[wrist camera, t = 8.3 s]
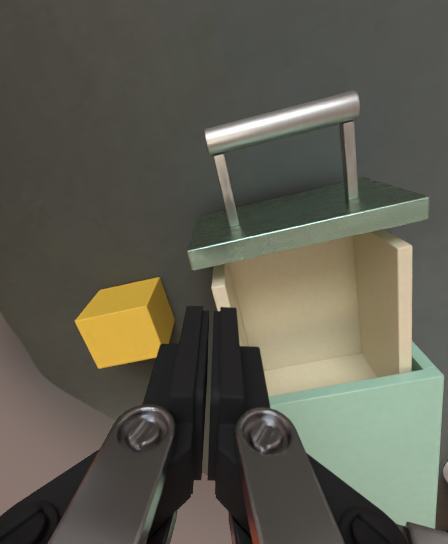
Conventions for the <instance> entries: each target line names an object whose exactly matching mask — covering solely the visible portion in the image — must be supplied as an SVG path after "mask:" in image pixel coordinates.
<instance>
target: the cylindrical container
mask: <svg viewBox="0 0 448 544" xmlns="http://www.w3.org/2000/svg"><path fill="white" fill-rule="evenodd" d="M443 476H444V478H445V480H446V481H447V483H448V461H447V463H446V464H445V466H444V468H443Z"/></svg>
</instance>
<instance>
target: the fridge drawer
mask: <svg viewBox="0 0 448 544" xmlns="http://www.w3.org/2000/svg"><path fill="white" fill-rule="evenodd" d="M359 112H360V100H359V96H358V93H357V92H356V91H354V90H353V91H349V92H345V93H342V94H338V95H334V96H330V97H326V98H322V99H319V100H315V101H311V102H307V103H303V104H299V105H296V106H292V107H288V108H284V109H280V110H277V111H273V112H269V113H265V114H261V115H257V116H254V117H250V118H246V119H242V120H238V121H234V122H231V123H227V124H223V125H219V126H215V127H211V128H208V129H204V136H205V141H206V145H207V149H208V153H209V155H210V156H214V161H215V166H216V170H217V174H218V178H219V183H220V187H221V191H222V195H223V200H224V204H225V208H226V210H222V211H218V212H214V213H209V214H205V215H201V216H198V218H197V222H196V225H195V228H194V231H193V234H192V237H191V240H190V243H189V246H188V250H187V254H188V257H189V261H190V264H191V267H192V270H199V269H203V268H208V267H212V266H213V275H212V287H211V289H212V293H213V296H214V300H215V303H216V307H217V310H218V311H220V307H234V308H236V309H237V320H238V331H239V342H240V346H253V347H259V348H260V353H261V358H262V364H263V369H264V375H265V380H266V386H267V391H268V397H269V396H275V395H281V394H286V393H292V392H298V391H303V390H309V389H315V388H320V387H326V386H332V385H338V384H343V383H349V382H355V381H360V380H366V379H372V378H378V377H383V376H389V375H395V374H400V373H406V372H412V245H410V244H409V243H407V242H405V241H403V240H402V239H400V238H398V237H397V236H395V235H393V234H392V233H390V232H388V231H386V230H385V229H386V228H391V227H396V226H400V225H405V224H409V223H414V222H418V221H423V220H427V219H429V197H428V196H425V195H422V194H418V193H415V192H412V191H408V190H405V189H402V188H398V187H395V186H392V185H388V184H385V183H382V182H379V181H375V180H372V179H369V178H365V177H363V178H358V179H357V163H356V147H355V131H354V121H353V120H356V119H357V118H358V116H359ZM337 124H340V137H341V150H342V162H343V175H344V182H341V183H337V184H333V185H329V186H324V187H320V188H316V189H312V190H307V191H303V192H299V193H294V194H290V195H286V196H282V197H277V198H273V199H269V200H265V201H260V202H256V203H252V204H248V205H243V206H239V207H236V205H235V201H234V196H233V192H232V187H231V182H230V178H229V173H228V169H227V164H226V160H225V155H224V153H226V152H230V151H234V150H238V149H242V148H246V147H250V146H254V145H258V144H262V143H266V142H270V141H274V140H278V139H282V138H286V137H290V136H294V135H297V134H301V133H305V132H309V131H313V130H317V129H321V128H325V127H329V126H333V125H337Z"/></svg>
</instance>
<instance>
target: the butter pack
mask: <svg viewBox="0 0 448 544" xmlns="http://www.w3.org/2000/svg"><path fill="white" fill-rule="evenodd" d="M174 322H175V319H174V316H173V313H172V311H171V308H170V305H169V302H168V299H167V296H166V293H165V291H164V288H163V285H162V282H161V279H160V277H157V278H152V279H148V280H143V281H139V282H134V283H130V284H125V285H120V286H116V287H111V288H107V289H102V290H99V291H98V293H97V294H96V295H95V296H94V298H93V299H92V300H91V301H90V303H89V304H88V305H87V306H86V308H85V309H84V310H83V311H82V313H81V314H80V315H79V316H78V318H77V319H76V320H75V323H76V325H77V327H78V329H79V331H80V333H81V335H82V337H83V339H84V341H85V343H86V345H87V347H88V349H89V351H90V353H91V355H92V357H93V359H94V361H95V363H96V365H97V367H98V368H99V369H100V368H105V367H110V366H115V365H120V364H126V363H131V362H136V361H141V360H146V359H151V358H156V357H157V353H158V350H159V347H160V345H161V344H169V341H170V337H171V333H172V329H173V326H174Z"/></svg>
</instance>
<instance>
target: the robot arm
mask: <svg viewBox="0 0 448 544" xmlns="http://www.w3.org/2000/svg"><path fill="white" fill-rule="evenodd" d="M208 329H209V311H203V306H187V308H186V313H185V318H184V323H183V328H182V333H181V338H180V343H179V344H161V345H160V347H159V350H158V353H157V357H156V360H155V364H154V367H153V371H152V374H151V377H150V381H149V384H148V388H147V391H146V395H145V398H144V402H143V405H140V406H135V407H133V408H131V409H129V410H127V411H126V412H124V413H123V414H122V415H121V416H119V418H118V419H117V420H116V422H115V423H114V425H113V426H112V428H111V430H110V432H109V433H108V435H107V437H106V439H105V441H104V443H103V444H102V446H101V448H100V449H99V450H98V451H96V452H94V453H93V454H91V455H90V456H88V457H87V458H85V459H84V460H82V461H81V462H79V463H78V464H76V465H75V466H73V467H72V468H70V469H69V470H67V471H66V472H64V473H63V474H61V475H60V476H58V477H56V478H55V479H53V480H52V481H51V482H49V483H47V484H46V485H44V486H43V487H41V488H40V489H38V490H37V491H35V492H34V493H32V494H31V495H29V496H28V497H26V498H25V499H23V500H22V501H20V502H18V503H17V504H16V505H14V506H13V507H11V508H10V509H9V510H8V511H6V512H5V513H4V514H3V515H1V516H0V544H170V542H171V538H172V534H173V530H174V525H175V522H176V516H177V510H178V509H179V508H180V507H181V506H182V505H183V504H184V503H185V502H186V501H187V500H188V499H189V498H190V497H191V494H192V493H193V481H194V480H201V476H202V458H203V441H204V423H205V406H206V388H207V363H208ZM208 480H215V482H216V483H215V485H216V486H215V494H216V498H217V499H218V500H219V501H220V503H221V504H222V505H223V506H224V507H225V508H226V509H227V510H228V511H229V525H230V531H231V537H232V544H448V532H445V531H441V530H438V529H434V528H430V527H426V526H423V525H419V524H415V523H411V522H408V521H407V522H406V524H405V526H402V525H399V524H396V523H395V522H394V521H393V520H392V519H391V518H390V517H389V516H387V515H386V514H385V513H384V512H383V511H382V510H380V509H379V508H378V507H377V506H375V505H374V504H373V503H371V502H370V501H369V500H367V499H366V498H365V497H364V496H362V495H361V494H360V493H358V492H357V491H356V490H354V489H353V488H352V487H350V486H349V485H348V484H347V483H345V482H344V481H343V480H341V479H340V478H339V477H337V476H336V475H335V474H333V473H332V472H331V471H330V470H328V469H327V468H326V467H324V466H323V465H322V464H320V463H319V462H318V461H317V460H315V459H314V458H313V457H311V456H310V455H309V454H307V453H306V451H305V449H304V447H303V444H302V442H301V440H300V437H299V435H298V433H297V430H296V428H295V426H294V425H293V423H292V422H291V420H290V419H289V418H288V417H286V416H285V415H284V414H283V413H281V412H279V411H277V410H275V409H271V408H270V402H269V397H268V391H267V386H266V380H265V375H264V369H263V364H262V358H261V353H260V348H259V347H253V346H240V342H239V331H238V320H237V309H236V308H234V307H220V311H214V327H213V352H212V378H211V404H210V432H209V459H208Z"/></svg>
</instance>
